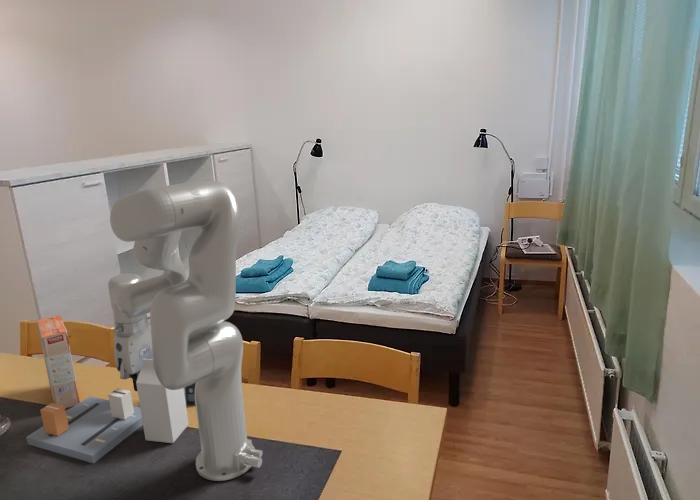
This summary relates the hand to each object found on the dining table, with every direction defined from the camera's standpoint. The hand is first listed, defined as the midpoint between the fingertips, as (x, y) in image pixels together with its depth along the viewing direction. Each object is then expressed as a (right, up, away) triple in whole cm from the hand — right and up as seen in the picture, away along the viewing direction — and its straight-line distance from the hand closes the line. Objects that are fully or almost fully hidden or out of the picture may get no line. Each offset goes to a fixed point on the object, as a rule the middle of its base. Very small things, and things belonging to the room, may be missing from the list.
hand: (141, 390), depth 131 cm
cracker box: (-23, -4, +7) cm, 24 cm away
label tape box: (+10, -4, +4) cm, 11 cm away
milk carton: (+10, -8, -10) cm, 16 cm away
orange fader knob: (-15, -6, -11) cm, 20 cm away
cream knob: (-2, -4, -6) cm, 8 cm away
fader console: (-8, -7, -8) cm, 14 cm away
